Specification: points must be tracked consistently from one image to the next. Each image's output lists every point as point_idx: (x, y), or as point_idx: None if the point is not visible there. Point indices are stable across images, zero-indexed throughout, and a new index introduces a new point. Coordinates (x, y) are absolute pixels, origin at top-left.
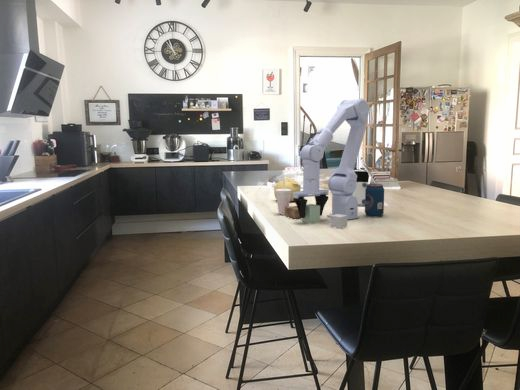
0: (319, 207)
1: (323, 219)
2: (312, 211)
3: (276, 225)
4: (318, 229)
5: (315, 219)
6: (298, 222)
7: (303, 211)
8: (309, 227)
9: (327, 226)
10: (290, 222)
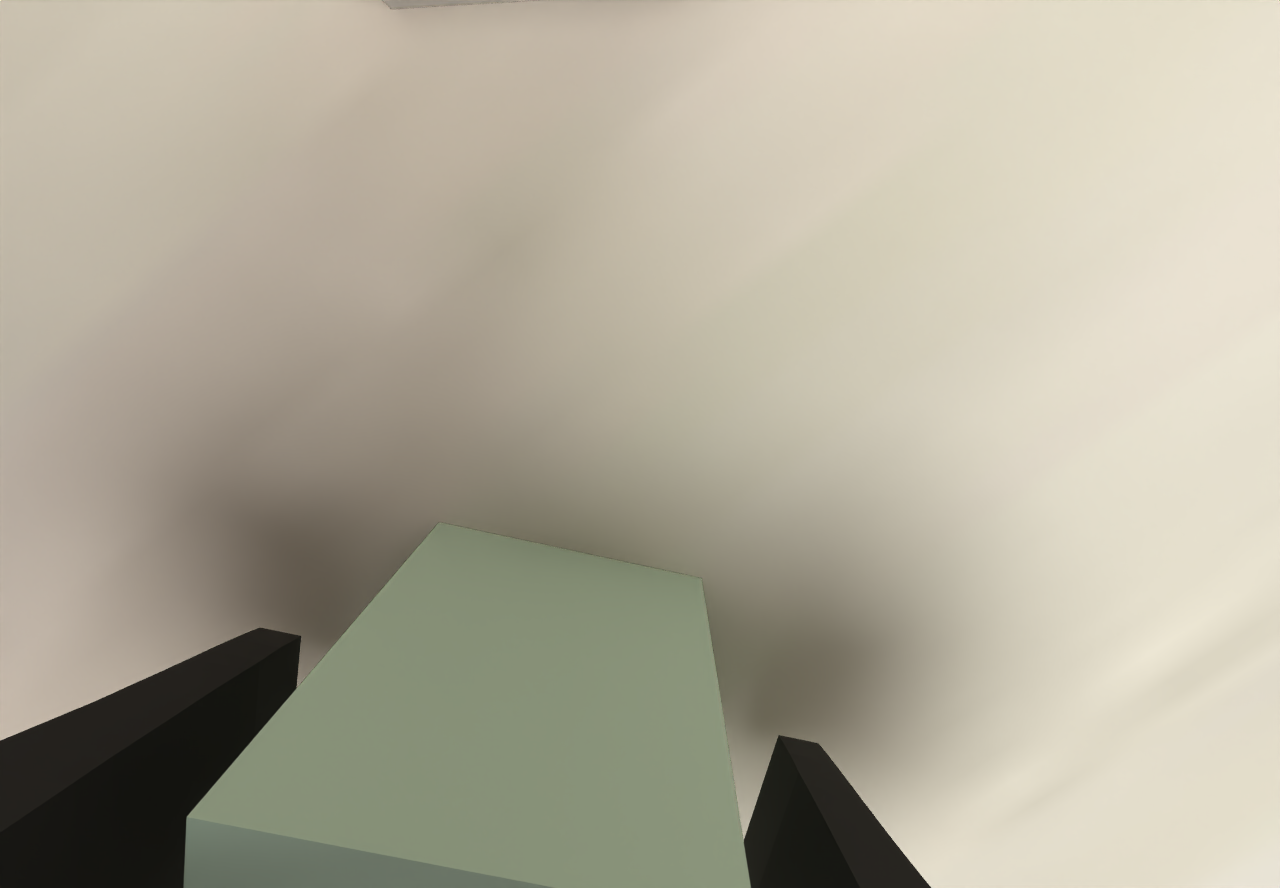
0: (270, 760)
1: (194, 619)
2: (627, 742)
3: (1239, 884)
4: (1109, 40)
5: (548, 579)
6: None
7: (920, 880)
8: (1039, 344)
9: (686, 94)
10: None
